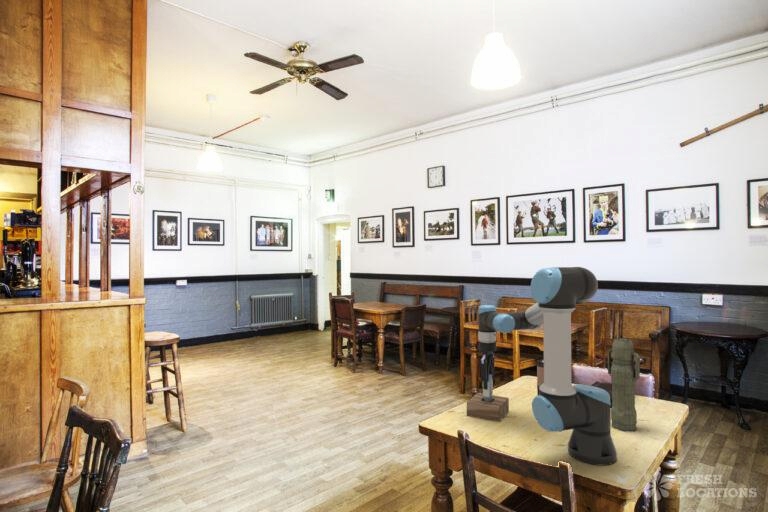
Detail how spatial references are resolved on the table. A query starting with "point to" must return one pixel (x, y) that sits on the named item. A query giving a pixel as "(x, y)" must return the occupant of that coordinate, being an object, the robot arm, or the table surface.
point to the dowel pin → (489, 399)
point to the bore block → (488, 407)
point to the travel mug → (540, 373)
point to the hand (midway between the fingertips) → (487, 394)
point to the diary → (604, 388)
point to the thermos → (623, 383)
